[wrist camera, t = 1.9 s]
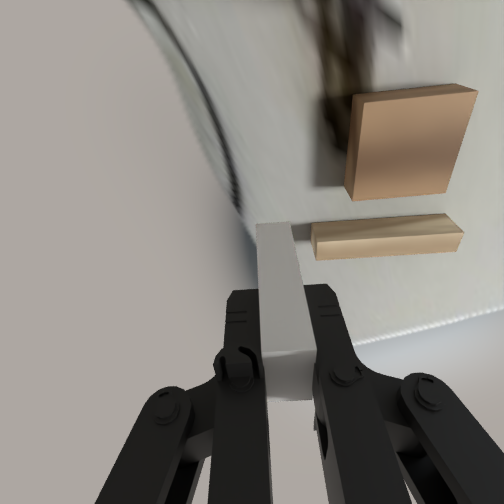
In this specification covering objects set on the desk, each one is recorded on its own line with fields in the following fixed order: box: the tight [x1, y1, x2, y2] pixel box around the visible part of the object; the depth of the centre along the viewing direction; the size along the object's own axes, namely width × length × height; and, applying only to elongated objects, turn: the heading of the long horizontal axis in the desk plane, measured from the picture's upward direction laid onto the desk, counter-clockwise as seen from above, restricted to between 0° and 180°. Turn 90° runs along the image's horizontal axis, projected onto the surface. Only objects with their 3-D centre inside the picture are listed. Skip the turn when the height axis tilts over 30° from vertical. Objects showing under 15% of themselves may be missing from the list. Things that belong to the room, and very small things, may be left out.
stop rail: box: [311, 214, 464, 261], centre depth 27 cm, size 2×12×3 cm, turn 94°
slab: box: [344, 84, 479, 201], centre depth 22 cm, size 7×7×3 cm
